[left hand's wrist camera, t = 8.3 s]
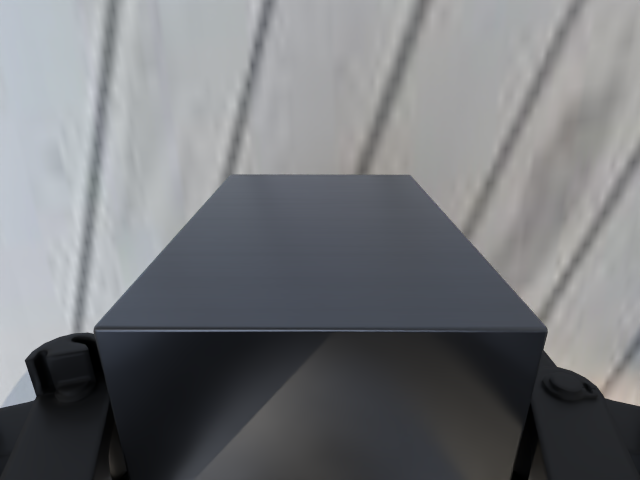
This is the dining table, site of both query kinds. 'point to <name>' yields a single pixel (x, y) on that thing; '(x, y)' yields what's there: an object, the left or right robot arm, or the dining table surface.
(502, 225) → the dining table surface
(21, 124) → the dining table surface
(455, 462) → the bar
